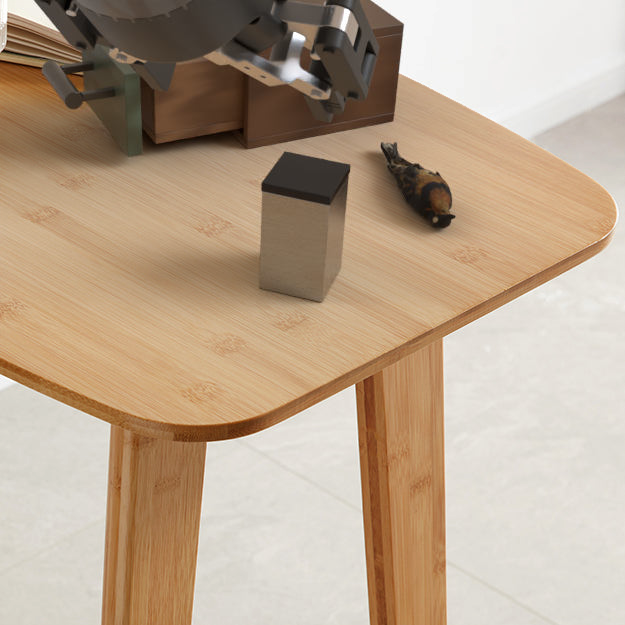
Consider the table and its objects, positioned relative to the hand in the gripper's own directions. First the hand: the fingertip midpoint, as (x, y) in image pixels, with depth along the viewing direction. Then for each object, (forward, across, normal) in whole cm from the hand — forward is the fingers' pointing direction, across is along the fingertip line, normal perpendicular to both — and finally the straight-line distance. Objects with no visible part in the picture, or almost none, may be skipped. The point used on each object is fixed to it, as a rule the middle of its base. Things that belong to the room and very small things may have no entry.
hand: (246, 87), depth 56 cm
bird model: (+32, -4, -5) cm, 32 cm away
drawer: (+32, +18, -7) cm, 37 cm away
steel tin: (+22, 0, +5) cm, 22 cm away
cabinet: (+39, +9, -12) cm, 42 cm away
